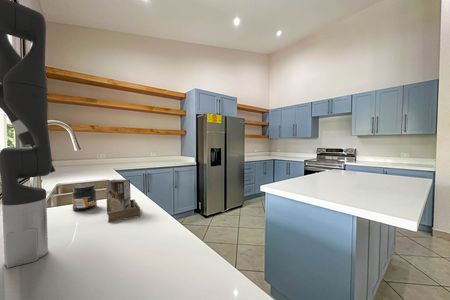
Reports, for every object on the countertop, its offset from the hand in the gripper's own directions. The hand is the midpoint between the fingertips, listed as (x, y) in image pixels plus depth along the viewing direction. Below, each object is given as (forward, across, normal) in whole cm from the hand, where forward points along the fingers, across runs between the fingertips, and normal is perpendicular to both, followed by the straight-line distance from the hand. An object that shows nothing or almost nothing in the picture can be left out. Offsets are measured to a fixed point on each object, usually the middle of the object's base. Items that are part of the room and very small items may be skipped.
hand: (52, 172), depth 77 cm
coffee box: (+29, +11, -13) cm, 34 cm away
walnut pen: (+30, +9, -14) cm, 34 cm away
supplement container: (+21, +27, +1) cm, 34 cm away
